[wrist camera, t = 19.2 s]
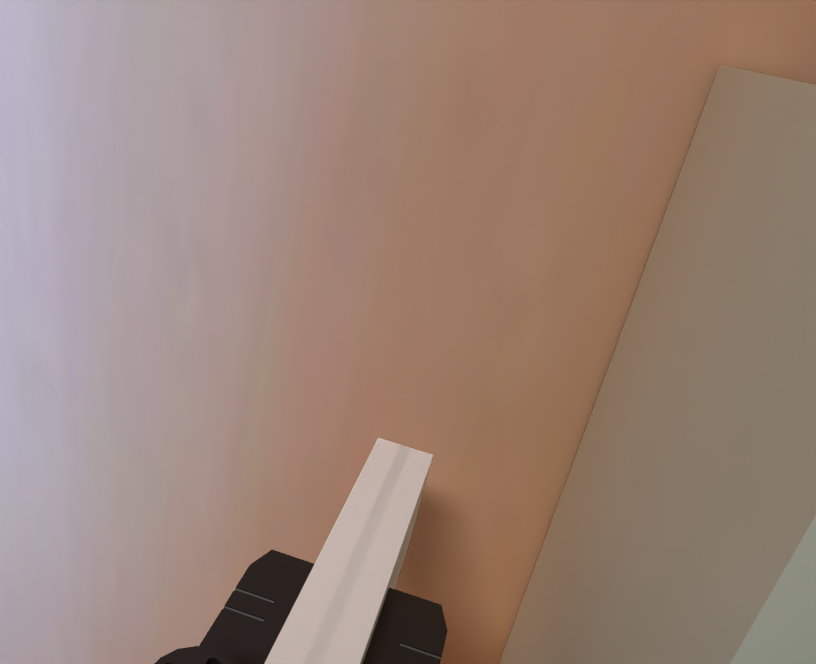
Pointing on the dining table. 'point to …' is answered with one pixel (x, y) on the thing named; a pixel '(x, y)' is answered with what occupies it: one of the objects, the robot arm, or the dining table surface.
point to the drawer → (702, 420)
